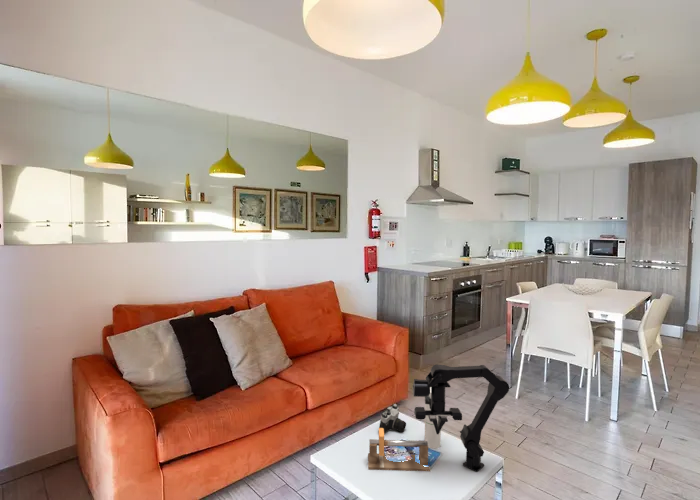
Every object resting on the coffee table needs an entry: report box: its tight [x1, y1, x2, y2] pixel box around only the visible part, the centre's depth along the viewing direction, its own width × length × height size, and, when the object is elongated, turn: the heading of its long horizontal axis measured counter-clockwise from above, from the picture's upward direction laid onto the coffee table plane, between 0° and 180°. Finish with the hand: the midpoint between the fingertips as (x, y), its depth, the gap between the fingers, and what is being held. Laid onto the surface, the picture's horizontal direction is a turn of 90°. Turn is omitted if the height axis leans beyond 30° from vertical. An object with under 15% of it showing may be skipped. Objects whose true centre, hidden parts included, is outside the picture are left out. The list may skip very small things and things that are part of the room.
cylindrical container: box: [424, 387, 442, 450], centre depth 175 cm, size 7×7×25 cm
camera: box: [377, 403, 407, 435], centre depth 188 cm, size 15×11×10 cm
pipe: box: [370, 439, 428, 448], centre depth 160 cm, size 24×2×2 cm, turn 88°
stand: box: [367, 438, 431, 472], centre depth 160 cm, size 25×10×8 cm, turn 88°
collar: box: [378, 427, 385, 456], centre depth 160 cm, size 2×7×8 cm, turn 178°
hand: (437, 433), depth 159 cm, fingers closed
